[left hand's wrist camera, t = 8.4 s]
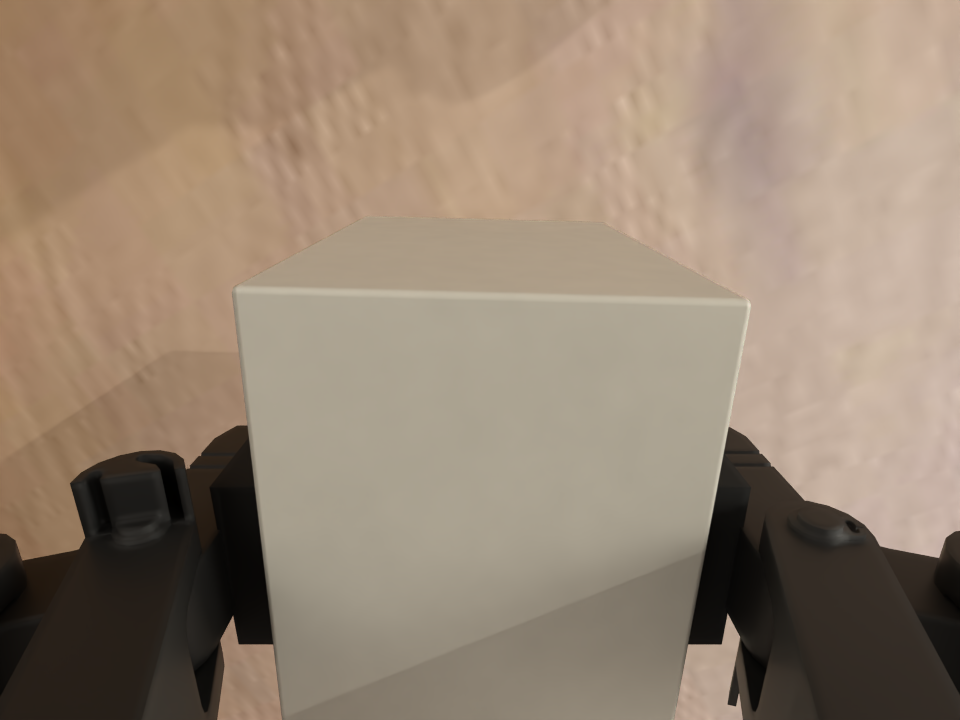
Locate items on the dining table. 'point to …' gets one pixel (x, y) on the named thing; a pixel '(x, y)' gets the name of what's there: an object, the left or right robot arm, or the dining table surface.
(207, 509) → the left robot arm
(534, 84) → the dining table surface
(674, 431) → the bar
